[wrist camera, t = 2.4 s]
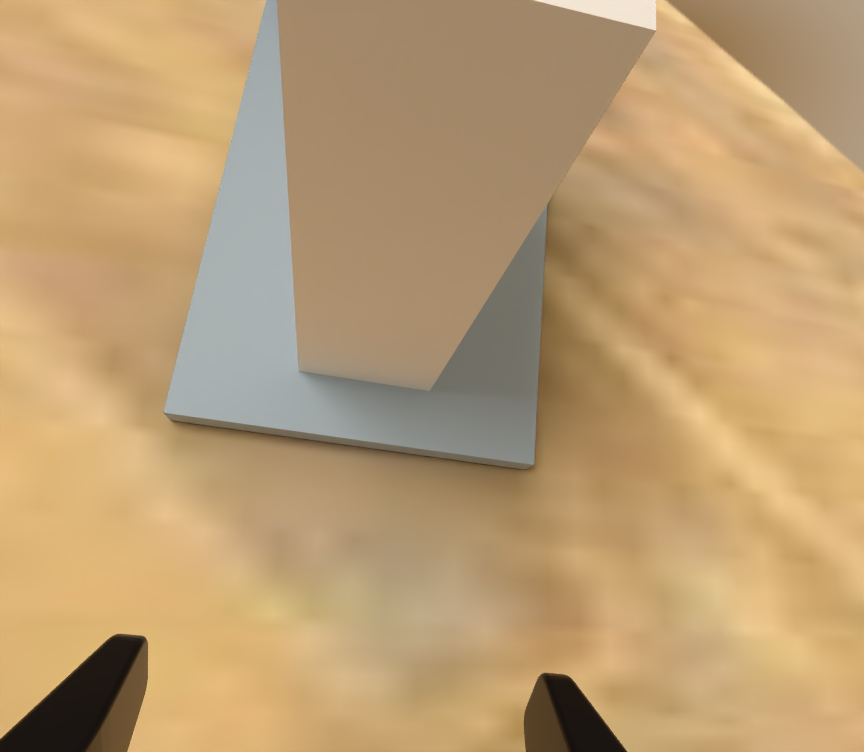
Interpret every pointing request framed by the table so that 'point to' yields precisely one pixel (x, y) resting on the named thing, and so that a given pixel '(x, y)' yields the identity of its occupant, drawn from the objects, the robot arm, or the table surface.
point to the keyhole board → (276, 327)
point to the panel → (430, 160)
